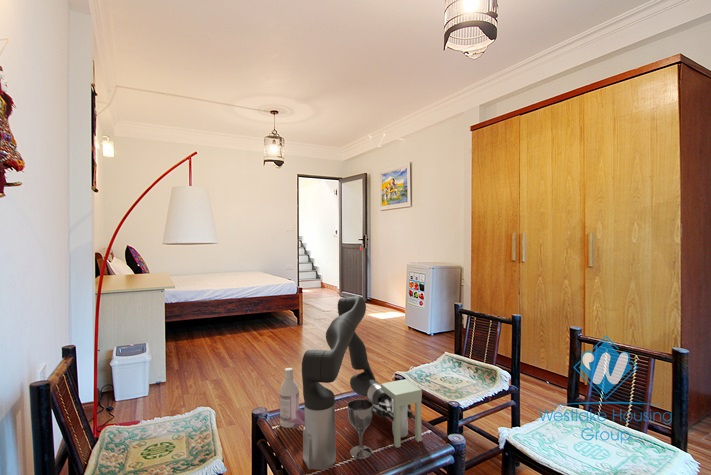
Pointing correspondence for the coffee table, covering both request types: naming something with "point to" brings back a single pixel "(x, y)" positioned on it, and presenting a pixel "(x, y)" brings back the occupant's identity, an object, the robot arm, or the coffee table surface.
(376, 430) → the coffee table surface
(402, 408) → the white plastic cylinder
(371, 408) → the wine glass
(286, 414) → the bath foam
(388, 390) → the small green stool
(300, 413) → the lily
